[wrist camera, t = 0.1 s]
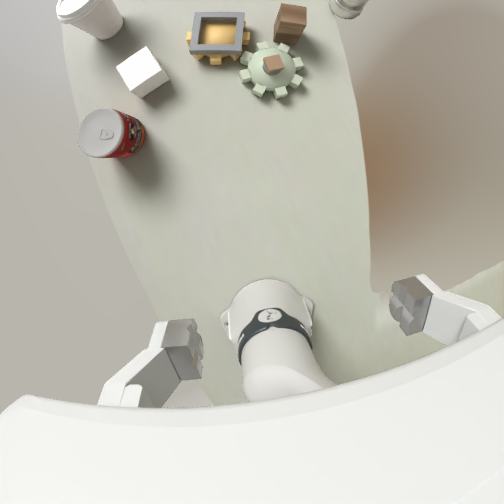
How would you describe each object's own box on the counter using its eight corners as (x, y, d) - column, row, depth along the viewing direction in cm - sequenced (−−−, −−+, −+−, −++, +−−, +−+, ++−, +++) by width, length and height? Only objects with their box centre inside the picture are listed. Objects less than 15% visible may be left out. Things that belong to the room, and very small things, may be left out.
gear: (308, 91, 42) (316, 84, 37) (250, 105, 42) (252, 99, 37) (288, 41, 38) (294, 30, 33) (231, 54, 39) (230, 43, 34)
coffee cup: (136, 6, 33) (110, -30, 19) (123, 43, 36) (90, 11, 21) (96, 13, 32) (64, -17, 18) (83, 49, 35) (44, 25, 20)
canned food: (145, 156, 44) (121, 155, 33) (106, 159, 43) (76, 160, 33) (147, 114, 41) (124, 103, 31) (107, 119, 41) (78, 111, 30)
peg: (295, 44, 38) (306, 25, 30) (273, 41, 38) (280, 21, 30) (295, 27, 37) (306, 7, 29) (274, 24, 37) (281, 3, 29)
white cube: (128, 75, 38) (115, 66, 33) (155, 57, 38) (146, 45, 32) (141, 98, 40) (130, 91, 35) (170, 79, 40) (161, 69, 34)
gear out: (247, 65, 40) (248, 57, 35) (185, 65, 39) (181, 56, 35) (250, 19, 36) (252, 8, 32) (192, 18, 35) (189, 8, 31)
